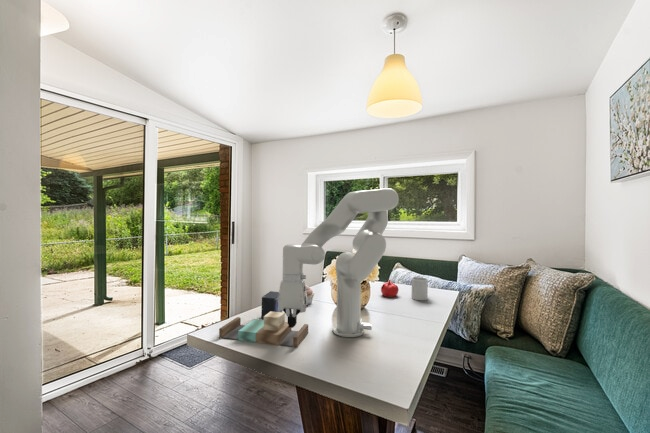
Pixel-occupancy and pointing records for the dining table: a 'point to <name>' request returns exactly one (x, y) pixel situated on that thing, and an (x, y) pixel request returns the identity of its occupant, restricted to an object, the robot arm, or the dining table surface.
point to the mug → (419, 288)
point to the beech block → (274, 321)
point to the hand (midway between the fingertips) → (292, 326)
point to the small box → (270, 303)
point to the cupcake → (309, 294)
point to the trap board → (262, 333)
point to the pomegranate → (389, 289)
